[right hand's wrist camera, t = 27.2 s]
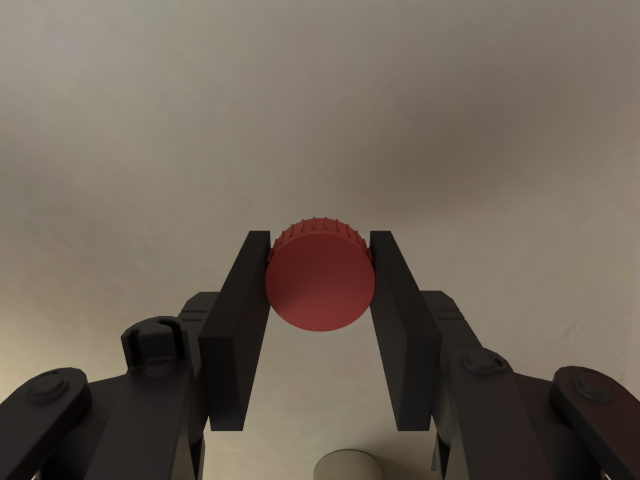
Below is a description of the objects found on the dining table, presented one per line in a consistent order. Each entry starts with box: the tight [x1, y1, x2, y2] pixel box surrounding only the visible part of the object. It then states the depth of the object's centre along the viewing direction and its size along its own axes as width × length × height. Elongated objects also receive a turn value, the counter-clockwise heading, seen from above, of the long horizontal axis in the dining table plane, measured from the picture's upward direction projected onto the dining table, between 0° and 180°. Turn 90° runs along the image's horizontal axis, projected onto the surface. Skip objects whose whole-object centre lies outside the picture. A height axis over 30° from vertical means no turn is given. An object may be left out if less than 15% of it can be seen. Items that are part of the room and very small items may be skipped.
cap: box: [265, 217, 375, 332], centre depth 14 cm, size 4×4×2 cm
